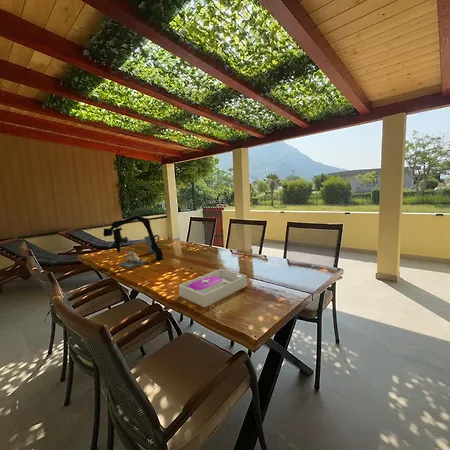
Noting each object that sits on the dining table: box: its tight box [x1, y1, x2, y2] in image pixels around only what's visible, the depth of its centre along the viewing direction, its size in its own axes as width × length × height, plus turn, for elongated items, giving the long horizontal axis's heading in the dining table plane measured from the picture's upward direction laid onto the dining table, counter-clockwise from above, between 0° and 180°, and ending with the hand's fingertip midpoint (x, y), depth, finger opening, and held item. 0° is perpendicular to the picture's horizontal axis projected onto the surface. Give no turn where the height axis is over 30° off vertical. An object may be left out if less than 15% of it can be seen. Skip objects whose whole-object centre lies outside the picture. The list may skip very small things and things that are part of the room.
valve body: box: [125, 255, 142, 263], centre depth 211 cm, size 18×5×6 cm, turn 53°
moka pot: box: [143, 234, 160, 255], centre depth 246 cm, size 10×15×20 cm, turn 115°
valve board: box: [117, 259, 147, 269], centre depth 210 cm, size 18×16×2 cm
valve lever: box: [123, 250, 135, 256], centre depth 213 cm, size 13×2×2 cm, turn 54°
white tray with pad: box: [178, 268, 248, 308], centre depth 144 cm, size 22×35×7 cm, turn 136°
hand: (119, 252), depth 211 cm, fingers closed
